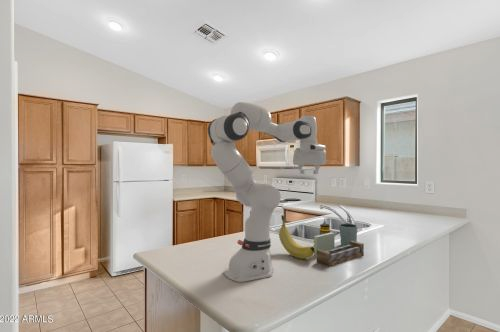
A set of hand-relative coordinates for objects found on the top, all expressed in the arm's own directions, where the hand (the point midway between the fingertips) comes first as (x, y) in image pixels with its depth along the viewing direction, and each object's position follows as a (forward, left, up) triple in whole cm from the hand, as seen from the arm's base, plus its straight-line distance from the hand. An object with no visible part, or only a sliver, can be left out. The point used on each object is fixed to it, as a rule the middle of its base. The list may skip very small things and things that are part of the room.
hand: (308, 173), depth 140 cm
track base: (+10, -12, -43) cm, 46 cm away
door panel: (+10, -2, -43) cm, 44 cm away
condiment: (+23, +9, -43) cm, 50 cm away
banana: (-6, +3, -43) cm, 43 cm away
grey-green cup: (+32, -1, -43) cm, 54 cm away
